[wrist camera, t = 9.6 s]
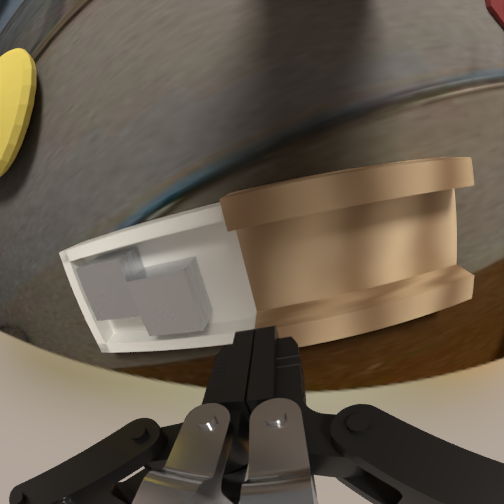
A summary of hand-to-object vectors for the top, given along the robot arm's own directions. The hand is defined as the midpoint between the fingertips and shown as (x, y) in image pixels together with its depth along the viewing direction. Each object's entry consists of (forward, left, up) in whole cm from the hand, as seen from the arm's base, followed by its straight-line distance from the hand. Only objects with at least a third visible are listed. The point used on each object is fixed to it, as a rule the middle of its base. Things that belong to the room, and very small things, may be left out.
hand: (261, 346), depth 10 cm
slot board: (+3, +7, -11) cm, 13 cm away
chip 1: (-5, -11, -10) cm, 15 cm away
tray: (-3, -9, -11) cm, 14 cm away
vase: (-30, -16, -12) cm, 35 cm away
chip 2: (-2, -7, -10) cm, 12 cm away
